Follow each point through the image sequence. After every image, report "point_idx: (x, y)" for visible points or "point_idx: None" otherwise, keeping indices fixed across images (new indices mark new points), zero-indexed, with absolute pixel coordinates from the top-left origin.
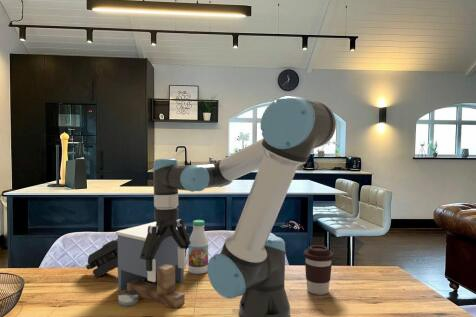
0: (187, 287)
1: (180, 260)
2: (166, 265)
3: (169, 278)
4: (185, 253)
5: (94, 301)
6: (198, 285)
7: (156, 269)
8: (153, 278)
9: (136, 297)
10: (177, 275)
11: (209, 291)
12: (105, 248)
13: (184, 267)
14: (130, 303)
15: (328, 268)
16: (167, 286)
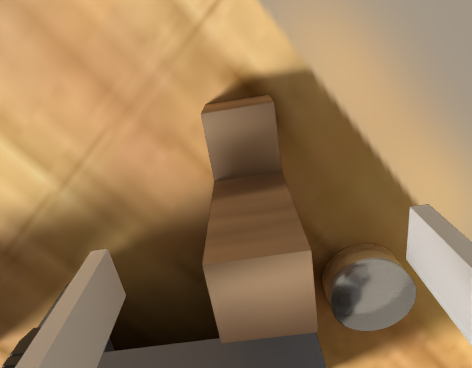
0: (91, 225)
1: (97, 320)
2: (241, 319)
3: (265, 214)
4: (15, 359)
5: (422, 353)
6: (34, 206)
7: (239, 357)
8: (443, 220)
9: (360, 263)
10: None
11: (24, 114)
12: None
13: (100, 254)
14: (384, 252)
15: None
16: (279, 190)
